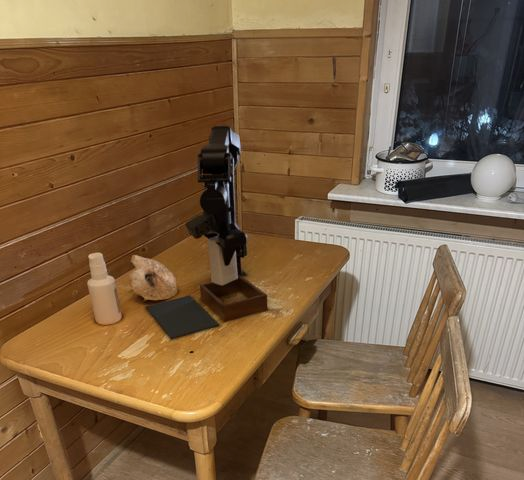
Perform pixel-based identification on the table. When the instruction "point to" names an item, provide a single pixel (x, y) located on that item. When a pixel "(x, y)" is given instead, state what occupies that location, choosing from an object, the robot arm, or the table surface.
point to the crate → (238, 308)
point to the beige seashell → (152, 279)
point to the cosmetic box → (220, 264)
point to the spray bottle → (103, 292)
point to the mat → (181, 316)
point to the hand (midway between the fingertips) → (222, 262)
